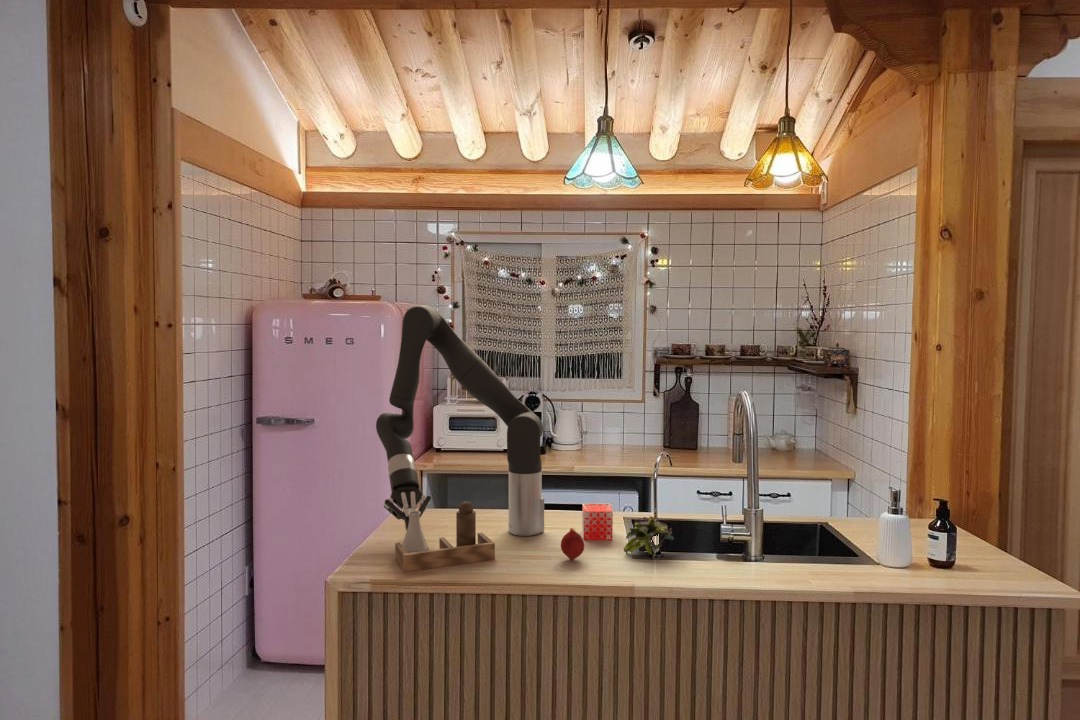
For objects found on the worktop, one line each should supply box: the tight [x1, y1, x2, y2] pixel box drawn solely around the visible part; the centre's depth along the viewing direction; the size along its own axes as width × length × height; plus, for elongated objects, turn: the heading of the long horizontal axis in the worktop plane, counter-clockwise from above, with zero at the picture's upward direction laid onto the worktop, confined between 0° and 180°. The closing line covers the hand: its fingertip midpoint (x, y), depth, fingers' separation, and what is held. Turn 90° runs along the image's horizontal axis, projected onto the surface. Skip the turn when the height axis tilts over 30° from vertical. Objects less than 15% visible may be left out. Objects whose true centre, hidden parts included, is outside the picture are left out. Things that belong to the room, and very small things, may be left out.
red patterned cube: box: [581, 503, 614, 541], centre depth 192 cm, size 8×8×8 cm
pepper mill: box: [455, 500, 477, 547], centre depth 175 cm, size 5×5×14 cm
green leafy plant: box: [623, 516, 674, 560], centre depth 177 cm, size 11×11×12 cm
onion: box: [560, 527, 585, 561], centre depth 172 cm, size 6×6×8 cm
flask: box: [401, 510, 430, 553], centre depth 179 cm, size 7×7×10 cm
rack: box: [394, 532, 496, 573], centre depth 173 cm, size 23×10×4 cm, turn 114°
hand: (412, 531), depth 181 cm, fingers closed
